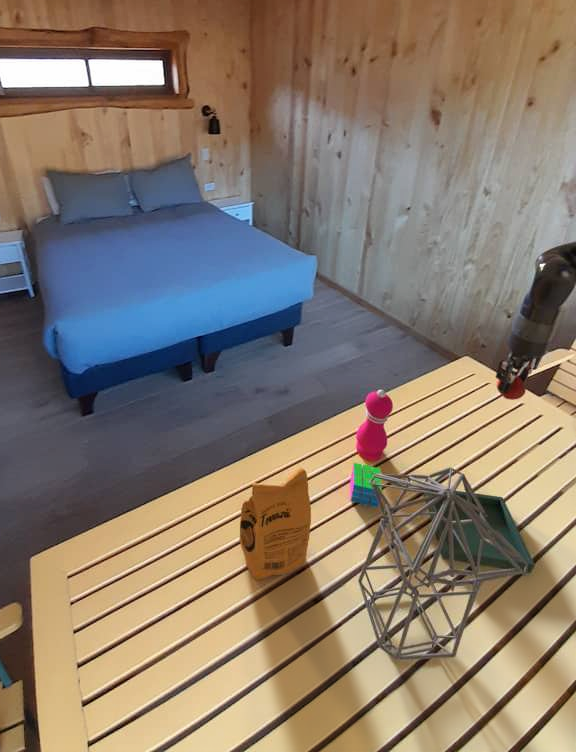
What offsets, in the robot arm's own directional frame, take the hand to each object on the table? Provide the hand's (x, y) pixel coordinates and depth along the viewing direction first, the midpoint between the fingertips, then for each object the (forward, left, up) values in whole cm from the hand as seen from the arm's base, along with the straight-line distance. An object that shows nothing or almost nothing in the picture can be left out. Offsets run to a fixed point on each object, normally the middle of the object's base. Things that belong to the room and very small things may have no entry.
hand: (510, 387), depth 101 cm
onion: (0, 0, -4) cm, 4 cm away
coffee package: (+57, +41, -14) cm, 72 cm away
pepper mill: (+34, +13, -14) cm, 39 cm away
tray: (+16, +30, -14) cm, 37 cm away
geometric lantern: (+34, +49, -14) cm, 61 cm away
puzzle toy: (+37, +25, -14) cm, 47 cm away
